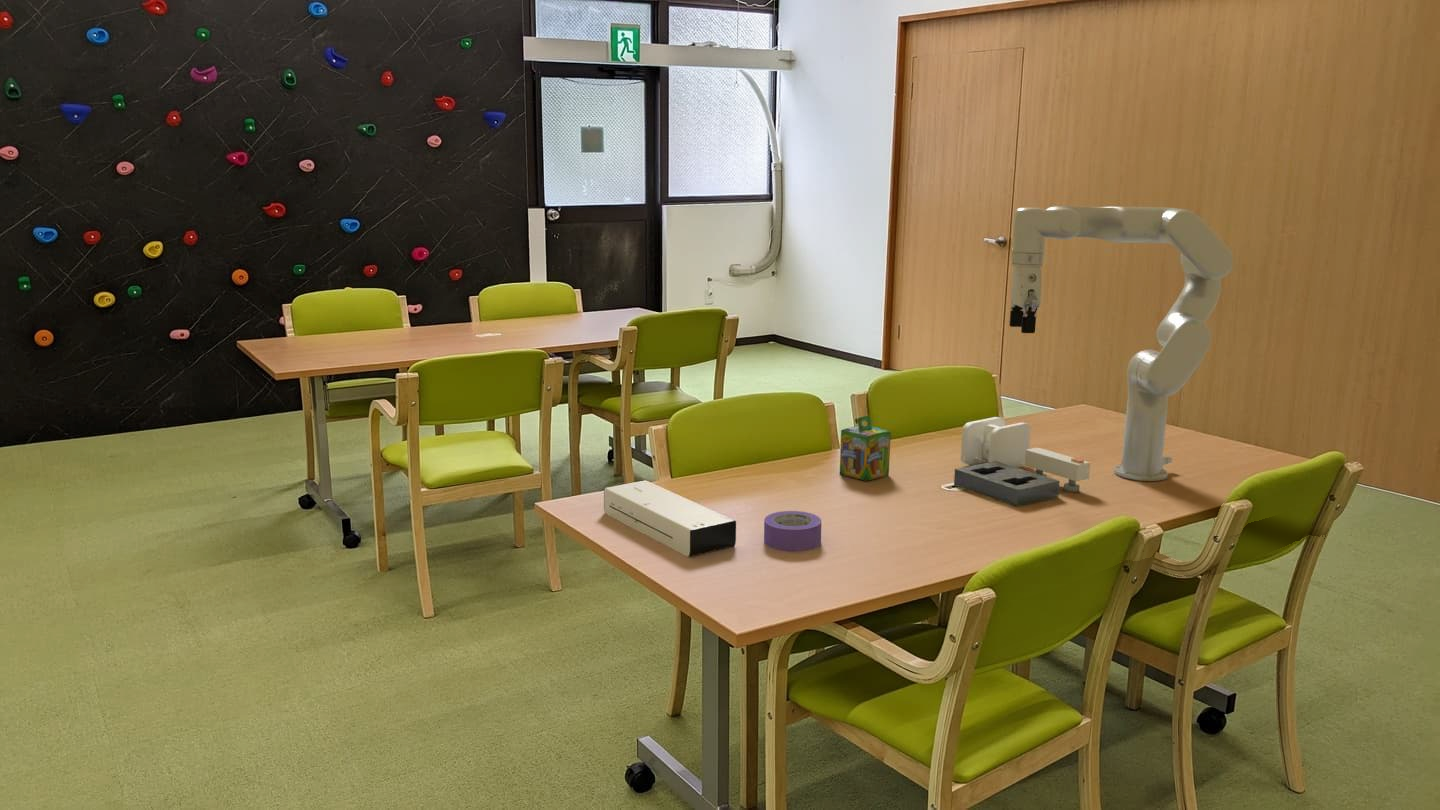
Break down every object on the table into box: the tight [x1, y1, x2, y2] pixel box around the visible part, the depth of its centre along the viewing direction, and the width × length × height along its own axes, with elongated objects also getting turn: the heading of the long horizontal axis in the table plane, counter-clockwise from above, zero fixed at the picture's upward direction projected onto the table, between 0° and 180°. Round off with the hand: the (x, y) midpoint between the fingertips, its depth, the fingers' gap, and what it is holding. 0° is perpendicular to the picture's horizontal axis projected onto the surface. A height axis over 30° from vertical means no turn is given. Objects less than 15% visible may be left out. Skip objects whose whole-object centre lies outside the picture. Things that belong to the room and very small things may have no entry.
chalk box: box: [839, 414, 892, 482], centre depth 284 cm, size 9×9×15 cm
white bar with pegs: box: [1023, 447, 1091, 494], centre depth 278 cm, size 4×16×8 cm, turn 34°
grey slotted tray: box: [953, 461, 1061, 508], centre depth 273 cm, size 14×20×4 cm
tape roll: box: [763, 510, 822, 553], centre depth 236 cm, size 12×12×5 cm
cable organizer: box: [960, 416, 1032, 468], centre depth 293 cm, size 15×11×12 cm
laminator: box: [603, 480, 737, 558], centre depth 243 cm, size 34×12×6 cm, turn 36°
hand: (1021, 329), depth 280 cm, fingers open, 9 cm apart
